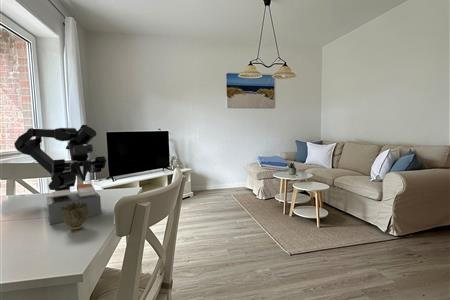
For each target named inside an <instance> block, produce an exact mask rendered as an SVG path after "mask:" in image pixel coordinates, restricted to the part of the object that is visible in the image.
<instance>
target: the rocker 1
mask: <svg viewBox="0 0 450 300" xmlns="http://www.w3.org/2000/svg"><path fill="white" fill-rule="evenodd" d="M69 194H71V189H70V190H61V191H55V190H53V191H51V196H52V197H60V196H67V195H69Z"/></svg>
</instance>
